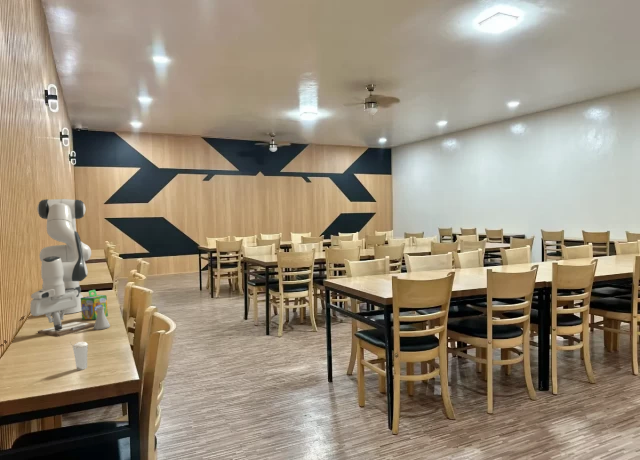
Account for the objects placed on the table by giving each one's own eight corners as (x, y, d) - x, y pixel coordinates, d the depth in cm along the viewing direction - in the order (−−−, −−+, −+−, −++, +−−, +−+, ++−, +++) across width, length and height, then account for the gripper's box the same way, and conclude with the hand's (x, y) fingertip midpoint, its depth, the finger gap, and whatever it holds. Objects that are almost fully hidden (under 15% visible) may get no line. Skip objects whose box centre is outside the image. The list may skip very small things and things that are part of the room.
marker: (53, 330, 201) (48, 305, 202) (59, 328, 204) (54, 304, 204) (57, 330, 200) (52, 304, 200) (64, 328, 203) (58, 303, 203)
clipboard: (37, 333, 204) (37, 329, 204) (76, 323, 221) (76, 319, 221) (59, 336, 196) (59, 331, 196) (97, 325, 213) (97, 321, 213)
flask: (113, 325, 211) (111, 305, 211) (104, 329, 204) (103, 308, 203) (99, 326, 212) (97, 306, 211) (90, 330, 204) (88, 309, 204)
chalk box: (95, 320, 226) (93, 291, 225) (81, 319, 229) (79, 291, 228) (108, 315, 235) (106, 288, 234) (95, 315, 237) (93, 288, 237)
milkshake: (70, 369, 150) (68, 341, 149) (87, 365, 153) (85, 337, 153) (74, 372, 146) (71, 343, 146) (91, 368, 150) (89, 339, 150)
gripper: (71, 287, 213) (73, 315, 213) (27, 295, 194) (29, 325, 195) (79, 287, 210) (81, 316, 210) (35, 296, 192) (37, 327, 192)
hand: (56, 321), depth 202 cm, fingers closed on marker, 3 cm apart
